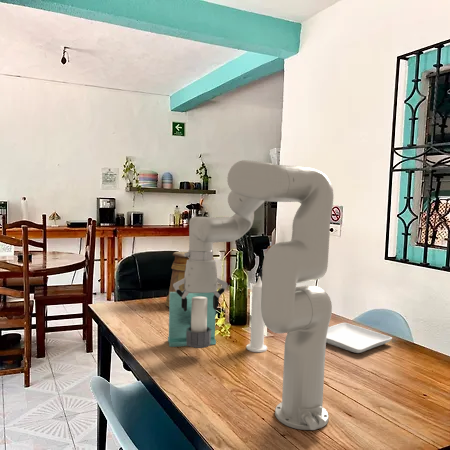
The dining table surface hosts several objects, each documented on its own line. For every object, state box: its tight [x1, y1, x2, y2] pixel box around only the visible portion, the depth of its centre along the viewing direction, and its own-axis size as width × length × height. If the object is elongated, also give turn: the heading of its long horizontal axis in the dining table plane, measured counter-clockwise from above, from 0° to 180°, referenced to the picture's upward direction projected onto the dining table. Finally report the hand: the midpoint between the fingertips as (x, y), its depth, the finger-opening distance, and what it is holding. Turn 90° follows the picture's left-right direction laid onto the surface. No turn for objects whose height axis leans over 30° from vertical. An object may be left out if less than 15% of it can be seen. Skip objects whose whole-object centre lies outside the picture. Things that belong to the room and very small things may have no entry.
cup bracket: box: [167, 292, 217, 349], centre depth 145 cm, size 20×16×18 cm
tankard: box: [165, 251, 215, 308], centre depth 202 cm, size 18×24×25 cm
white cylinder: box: [191, 297, 208, 333], centre depth 139 cm, size 5×5×14 cm
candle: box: [246, 276, 268, 353], centre depth 148 cm, size 7×7×25 cm
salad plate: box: [326, 322, 393, 354], centre depth 158 cm, size 21×21×3 cm
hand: (200, 309), depth 139 cm, fingers open, 9 cm apart
